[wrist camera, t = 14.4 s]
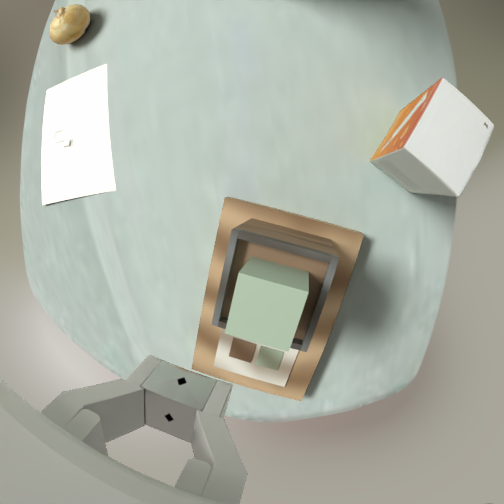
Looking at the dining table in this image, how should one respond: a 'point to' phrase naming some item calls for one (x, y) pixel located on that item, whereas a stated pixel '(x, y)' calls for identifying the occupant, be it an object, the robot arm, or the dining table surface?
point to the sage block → (268, 303)
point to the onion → (69, 24)
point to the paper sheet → (77, 139)
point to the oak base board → (328, 312)
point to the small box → (435, 142)
